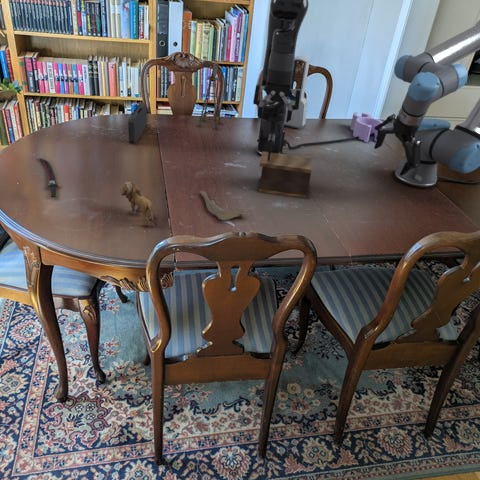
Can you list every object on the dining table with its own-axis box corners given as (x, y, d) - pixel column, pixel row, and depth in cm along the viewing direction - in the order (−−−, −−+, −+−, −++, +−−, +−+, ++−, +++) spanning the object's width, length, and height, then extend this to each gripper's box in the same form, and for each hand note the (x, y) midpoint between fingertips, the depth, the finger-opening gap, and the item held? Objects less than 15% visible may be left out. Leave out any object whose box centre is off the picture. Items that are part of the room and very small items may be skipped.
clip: (343, 126, 223) (346, 112, 219) (367, 127, 225) (371, 113, 221) (360, 142, 206) (364, 127, 202) (386, 142, 209) (390, 127, 205)
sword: (61, 197, 141) (61, 193, 140) (50, 198, 139) (50, 194, 139) (49, 160, 164) (48, 156, 163) (39, 160, 163) (39, 157, 162)
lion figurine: (118, 210, 138) (116, 182, 133) (132, 204, 141) (131, 177, 137) (151, 229, 130) (150, 201, 126) (165, 223, 134) (165, 195, 129)
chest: (259, 191, 157) (262, 167, 152) (261, 179, 165) (264, 155, 161) (306, 198, 156) (311, 173, 151) (306, 185, 165) (310, 161, 160)
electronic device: (305, 125, 218) (316, 58, 202) (301, 130, 212) (313, 61, 196) (279, 120, 221) (289, 53, 205) (275, 124, 215) (284, 56, 199)
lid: (259, 166, 152) (262, 140, 147) (261, 154, 161) (264, 130, 156) (311, 173, 151) (315, 147, 146) (310, 161, 160) (315, 136, 155)
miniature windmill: (216, 129, 203) (221, 57, 187) (197, 126, 204) (200, 54, 188) (221, 123, 211) (226, 53, 194) (203, 120, 212) (206, 50, 195)
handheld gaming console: (140, 124, 200) (139, 101, 194) (146, 125, 200) (146, 101, 194) (127, 143, 180) (126, 118, 175) (135, 144, 180) (134, 119, 175)
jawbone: (230, 228, 136) (231, 222, 135) (181, 203, 146) (181, 197, 145) (250, 215, 142) (250, 210, 140) (201, 192, 152) (201, 187, 151)
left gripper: (256, 67, 137) (250, 120, 146) (304, 72, 136) (295, 126, 145) (258, 61, 143) (253, 113, 152) (304, 67, 143) (296, 119, 151)
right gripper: (374, 97, 148) (359, 140, 167) (428, 150, 138) (406, 190, 157) (392, 88, 150) (375, 132, 169) (447, 139, 140) (422, 180, 159)
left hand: (273, 119), depth 149 cm, fingers open, 8 cm apart
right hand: (390, 160), depth 163 cm, fingers open, 13 cm apart
